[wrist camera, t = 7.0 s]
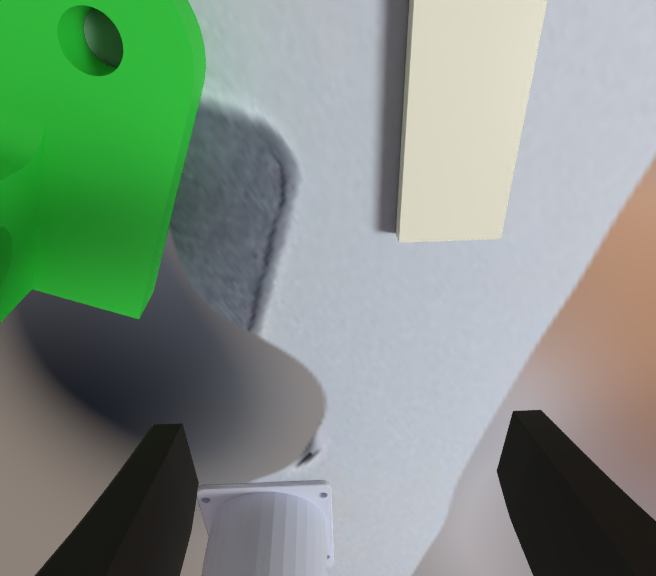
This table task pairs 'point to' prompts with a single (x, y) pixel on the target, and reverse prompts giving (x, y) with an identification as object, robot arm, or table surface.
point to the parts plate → (463, 114)
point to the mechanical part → (92, 147)
